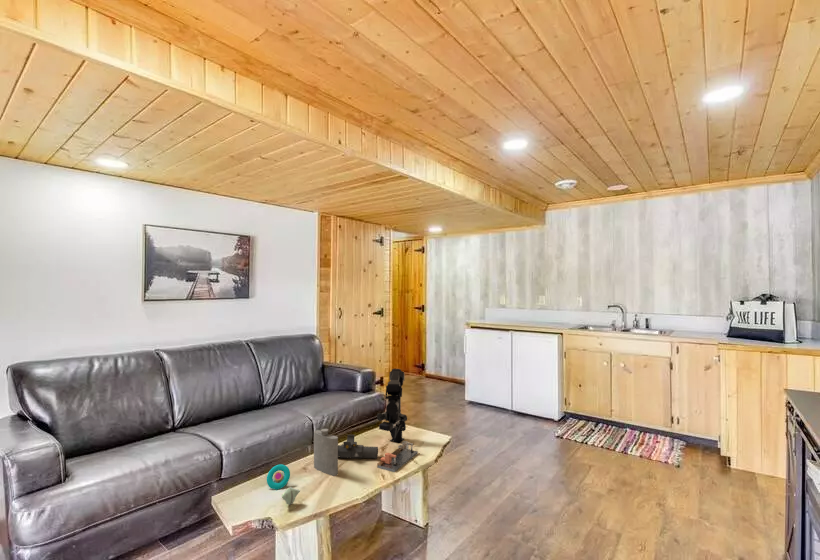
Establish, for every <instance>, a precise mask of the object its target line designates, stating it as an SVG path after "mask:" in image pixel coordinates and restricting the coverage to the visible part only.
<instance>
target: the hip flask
mask: <svg viewBox="0 0 820 560" xmlns="http://www.w3.org/2000/svg"><path fill="white" fill-rule="evenodd" d="M338 445H339V437H338V436H336V435H332V434H330V433H329V428H322V429H316V430H314V431H313V468H314V469H316V470H317V471H318V472H321V473H323V474H325V475H328V476H333V477H334V476H335V477H336V476H337V475H339V473H338V472H339V470H338V469H339V462H338V461H339V457H338Z"/></svg>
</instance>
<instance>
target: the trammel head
mask: <svg viewBox="0 0 820 560" xmlns="http://www.w3.org/2000/svg"><path fill="white" fill-rule="evenodd" d="M391 453H392V452H386V453H384V456H383V457H381V458H380V461H385V463H387V464H390V463H391V461H392V457H394V464H396V455H393V454H391Z"/></svg>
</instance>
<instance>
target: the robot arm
mask: <svg viewBox="0 0 820 560" xmlns="http://www.w3.org/2000/svg"><path fill="white" fill-rule="evenodd" d="M388 377H389V381H388V382H387V385H385V396H384V397H385V398H384V399H385V400H387V404H386V407H385V411H384V412H378V413H377V414H376V420H377V421H378V422H381V421H383V422H381V423H380V424H378V430H380V431H386V432H389V433H390V437H391V439H389V442H392V443H396V444H401V443H402V442H404V441H406V440H405V438H403V432H405V431H406V430H407V429H406V428H407V426H406V425H407V423H406V421H408V416H407V414H403V413H402V411H401V407H402V406H401V405H402V403H401V401H402V400H401V398H402V397H403V387H402V386H403V385H404V381H405V379H406V378H405V371H402V369H400V368H393V369H391V370H390V371H389V376H388Z"/></svg>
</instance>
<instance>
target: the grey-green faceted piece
mask: <svg viewBox="0 0 820 560" xmlns="http://www.w3.org/2000/svg"><path fill="white" fill-rule="evenodd" d="M300 493H301V490H300V489H298V488H293V487H291V486H289V487H288V488H286V490H285V491H284V493H283V494H281V499H282V500H284V501H285V503H286V504H287V505H289V506H291V505H292V504H293V503H294V502H295V501H296V498H297V496H298V495H299V494H300Z"/></svg>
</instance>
